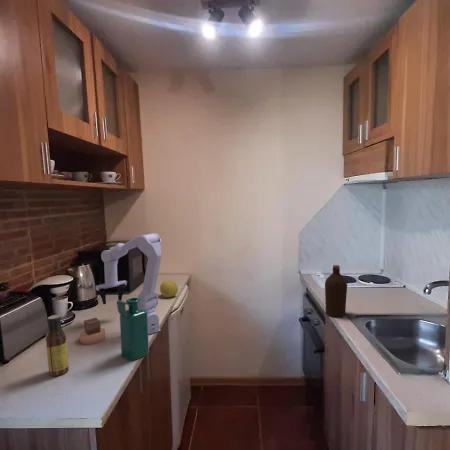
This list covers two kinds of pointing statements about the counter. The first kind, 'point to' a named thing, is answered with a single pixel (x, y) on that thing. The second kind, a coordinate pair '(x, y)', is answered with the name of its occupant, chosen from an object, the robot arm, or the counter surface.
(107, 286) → the robot arm
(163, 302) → the counter surface
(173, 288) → the fruit
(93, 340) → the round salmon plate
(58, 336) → the sauce bottle
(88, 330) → the walnut cube
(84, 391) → the counter surface
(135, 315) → the green plastic tall container
